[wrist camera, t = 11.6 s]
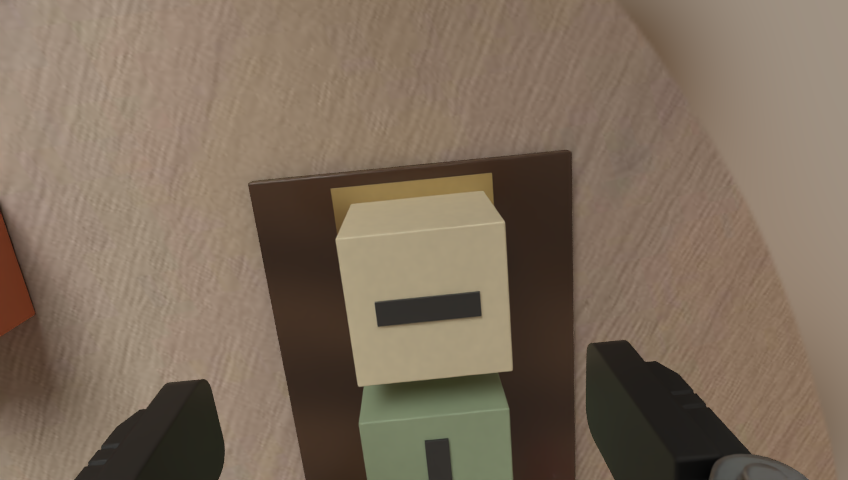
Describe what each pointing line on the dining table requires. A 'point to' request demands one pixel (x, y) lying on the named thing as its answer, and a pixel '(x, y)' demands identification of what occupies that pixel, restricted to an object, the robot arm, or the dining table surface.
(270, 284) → the word board
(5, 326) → the orange cube with label
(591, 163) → the dining table surface
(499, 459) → the green letter block
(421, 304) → the cream cube with slot
